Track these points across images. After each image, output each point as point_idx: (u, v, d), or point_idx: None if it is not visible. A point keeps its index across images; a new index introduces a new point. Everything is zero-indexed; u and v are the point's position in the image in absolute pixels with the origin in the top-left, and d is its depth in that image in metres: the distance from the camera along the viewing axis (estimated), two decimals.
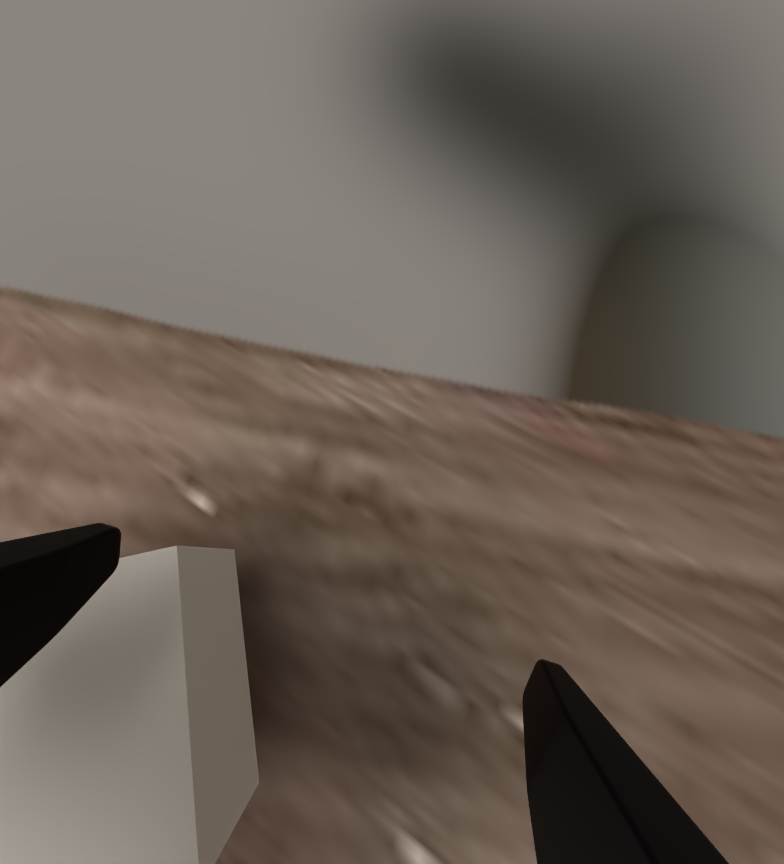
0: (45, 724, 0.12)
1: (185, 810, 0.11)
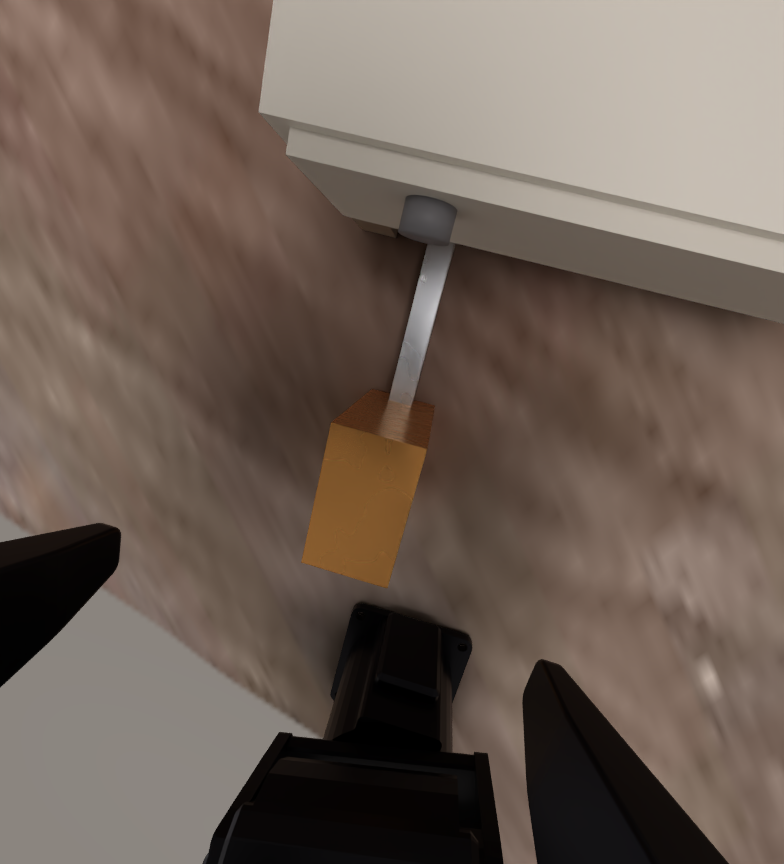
0: None
1: None
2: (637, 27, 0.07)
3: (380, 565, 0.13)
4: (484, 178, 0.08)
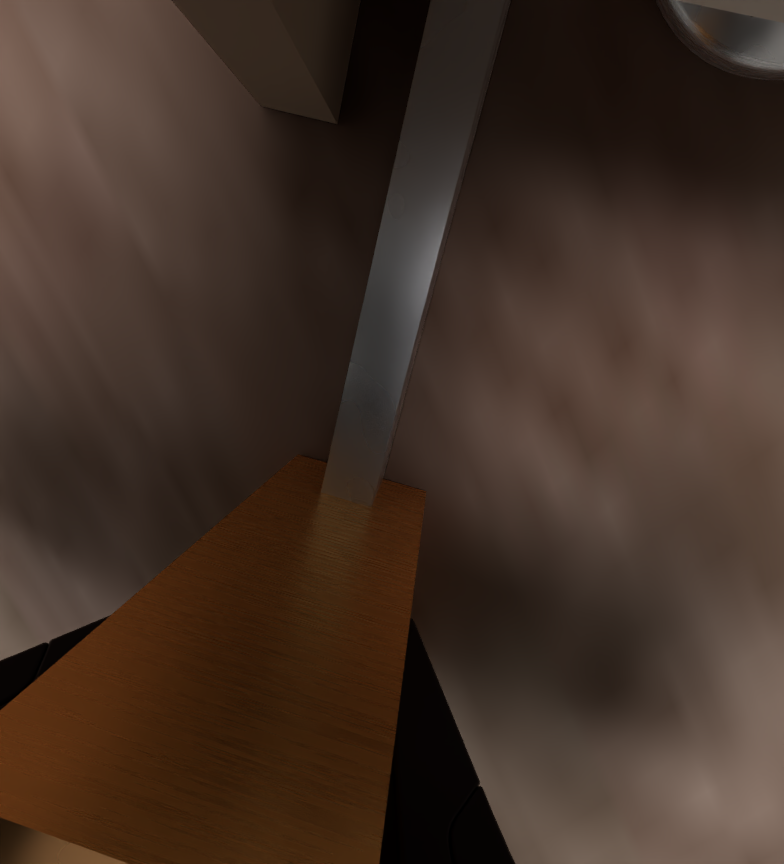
0: None
1: None
2: None
3: None
4: None
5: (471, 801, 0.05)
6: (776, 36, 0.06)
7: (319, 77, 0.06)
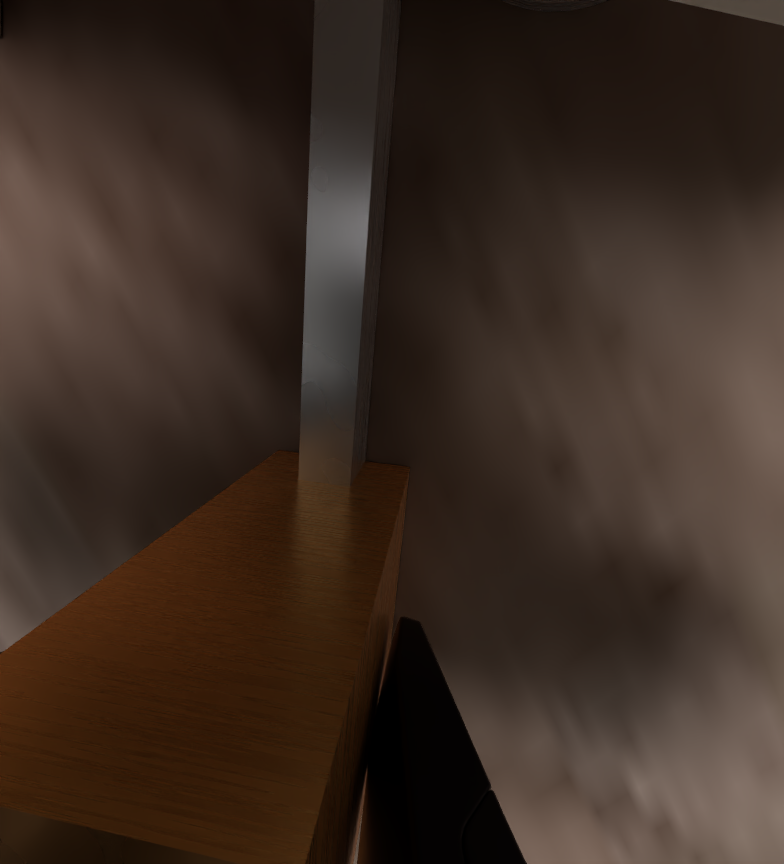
0: None
1: None
2: None
3: None
4: None
5: (483, 805, 0.05)
6: None
7: None
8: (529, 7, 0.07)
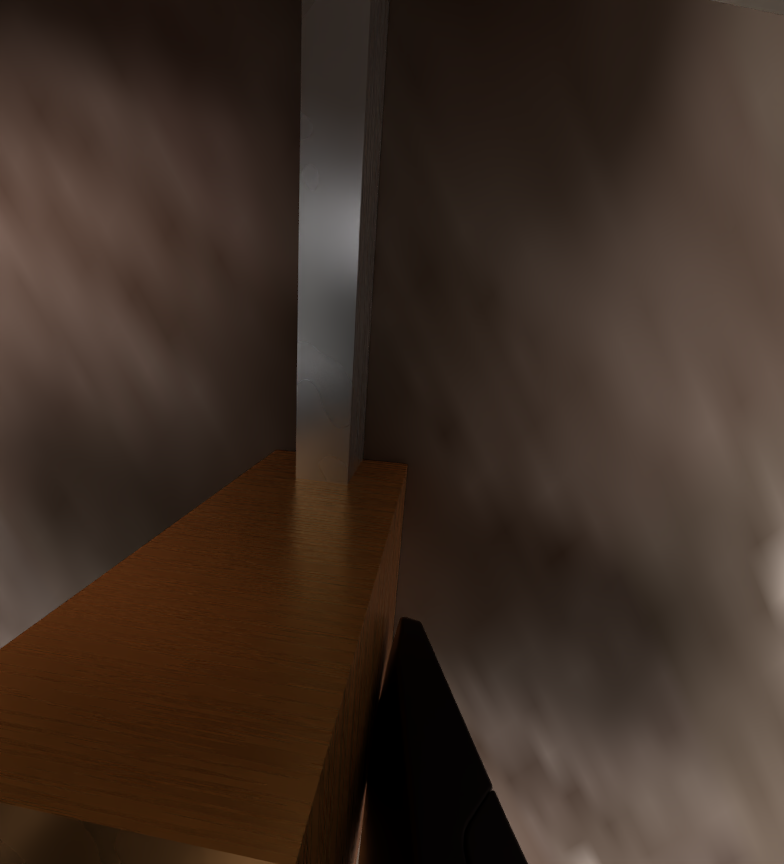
0: None
1: None
2: None
3: None
4: None
5: (484, 805, 0.05)
6: None
7: None
8: None
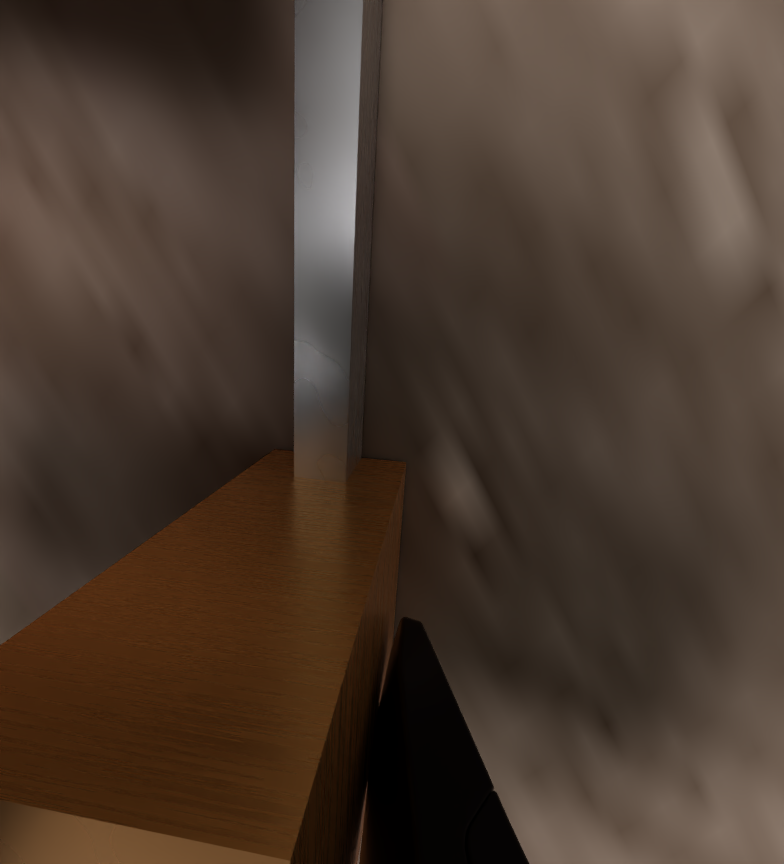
0: None
1: None
2: None
3: None
4: None
5: (486, 806, 0.05)
6: None
7: None
8: None
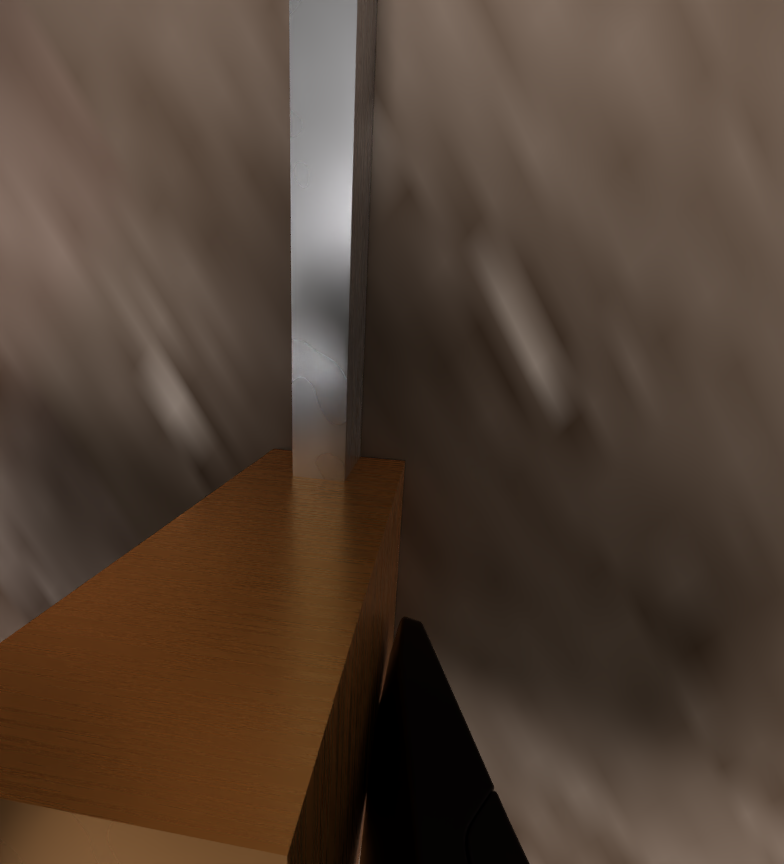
0: None
1: None
2: None
3: None
4: None
5: (486, 806, 0.05)
6: None
7: None
8: None
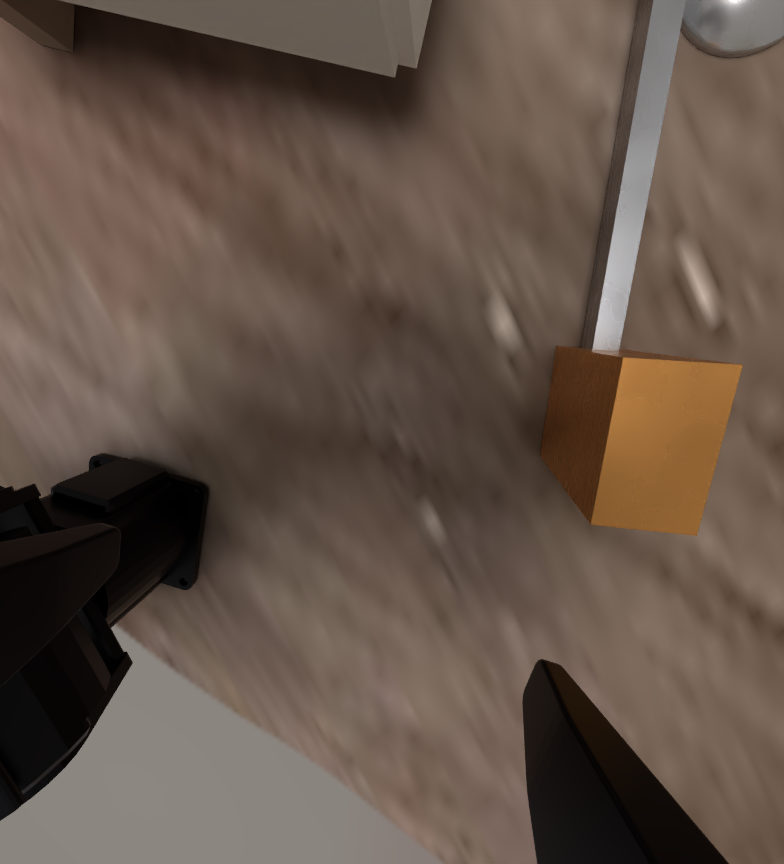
0: None
1: None
2: None
3: (687, 511, 0.12)
4: None
5: None
6: (760, 34, 0.14)
7: (47, 29, 0.16)
8: None
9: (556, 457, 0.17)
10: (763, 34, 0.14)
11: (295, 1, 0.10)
